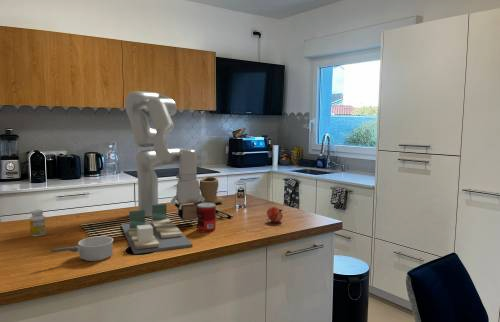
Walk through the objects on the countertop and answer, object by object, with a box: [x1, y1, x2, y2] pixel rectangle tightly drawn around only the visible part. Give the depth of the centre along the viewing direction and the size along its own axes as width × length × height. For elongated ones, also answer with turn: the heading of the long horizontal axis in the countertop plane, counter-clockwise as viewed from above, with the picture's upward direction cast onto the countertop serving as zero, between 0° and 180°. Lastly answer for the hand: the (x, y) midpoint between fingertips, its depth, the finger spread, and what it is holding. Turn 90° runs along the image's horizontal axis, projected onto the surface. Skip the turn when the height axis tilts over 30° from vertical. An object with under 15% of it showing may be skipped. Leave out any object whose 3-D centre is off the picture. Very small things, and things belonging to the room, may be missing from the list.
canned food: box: [196, 203, 217, 233], centre depth 167 cm, size 8×8×11 cm
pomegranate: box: [266, 206, 284, 224], centre depth 181 cm, size 7×7×10 cm
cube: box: [180, 203, 197, 222], centre depth 175 cm, size 6×6×6 cm
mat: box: [120, 221, 193, 255], centre depth 158 cm, size 37×21×1 cm, turn 25°
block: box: [137, 224, 153, 243], centre depth 145 cm, size 5×5×5 cm
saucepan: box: [49, 235, 114, 262], centre depth 131 cm, size 12×20×6 cm, turn 131°
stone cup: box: [197, 176, 224, 204], centre depth 216 cm, size 15×12×15 cm
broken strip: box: [128, 210, 159, 249], centre depth 150 cm, size 25×8×8 cm, turn 25°
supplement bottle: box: [29, 209, 47, 237], centre depth 157 cm, size 5×5×10 cm
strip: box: [150, 203, 183, 238], centre depth 163 cm, size 25×8×8 cm, turn 25°
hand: (188, 216), depth 175 cm, fingers closed on cube, 6 cm apart
